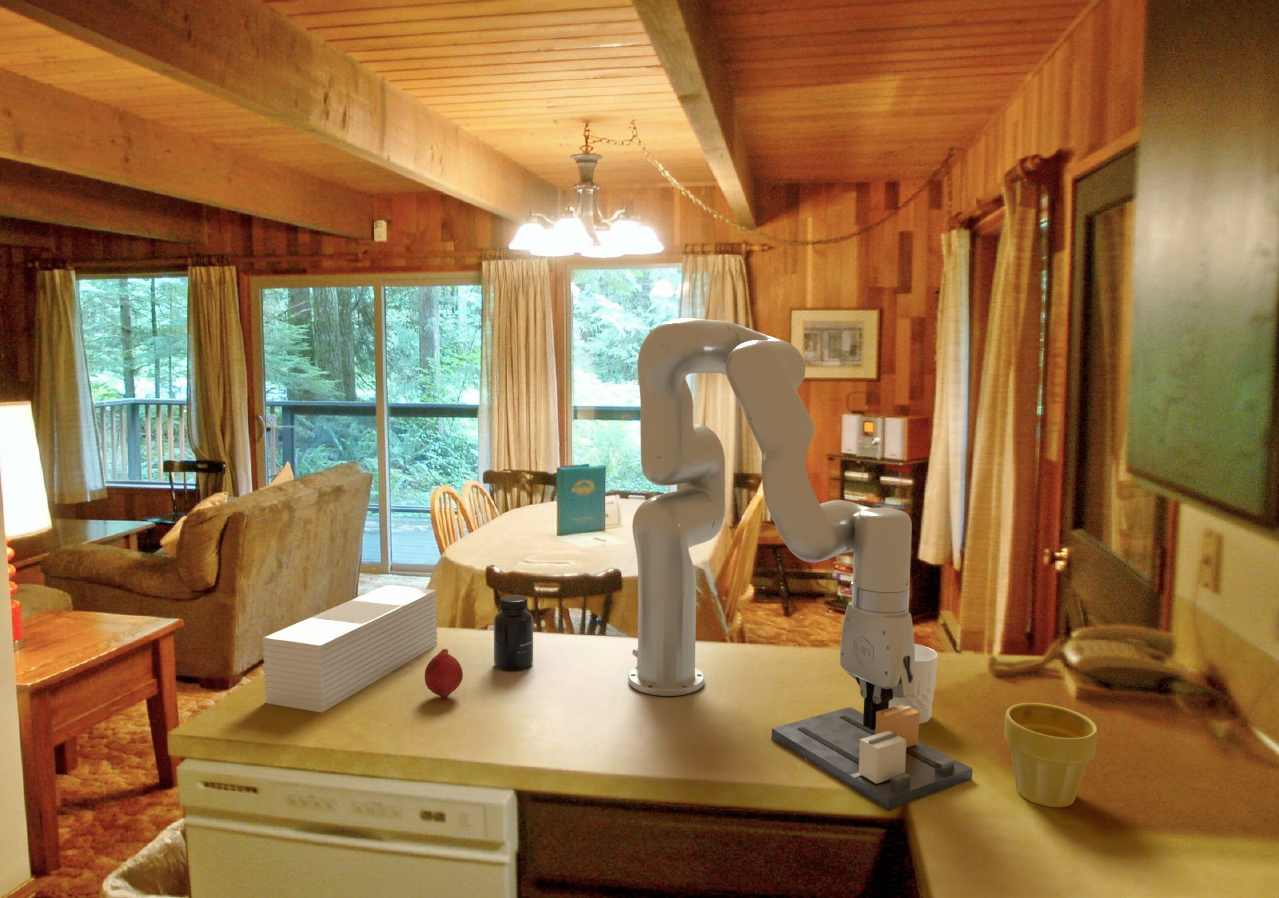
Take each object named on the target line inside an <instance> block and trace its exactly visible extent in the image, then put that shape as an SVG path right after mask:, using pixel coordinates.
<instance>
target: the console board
mask: <svg viewBox="0 0 1279 898" xmlns="http://www.w3.org/2000/svg"><path fill="white" fill-rule="evenodd" d="M863 716H864V712H861V711H860V710H857V709H855V708H854V707H851V706H847V707H844V708H841V709H836V710H834V711H830V712H826V713H823V714H819V715H815V716H811V717H808V718H805V719H801V720H798V721H794V722H790V723H786V724H783V725H779V726H775V727H772V728H771V739H772V740H773V741H774V742H777V743H779V745H781V746H783V747H785V746H786V747H787V748H786V747H785V748H786V749H788V748H789V749H788V750H790V751H791V750H792V751H791V752H792V753H794V752H795V754H796V755H798V754H799V755H800V756H799V755H798V756H799V757H801V756H802V757H801V758H803V759H804V758H806V759H807V760H808V761H807V760H806V759H805V760H806V761H807V762H809V761H810V762H809V763H811V762H812V763H813V764H812V763H811V764H812V765H814V764H815V765H814V766H815V767H817V766H818V767H817V768H819V767H820V768H821V769H820V768H819V769H820V770H822V769H823V770H822V771H824V772H825V773H827V774H829V775H830V776H832V777H834V778H835V779H837V780H838V781H840V782H842V783H844V784H845V785H847V786H849V787H850V788H852V789H853V790H855V791H856V792H858V793H859V794H862V795H863V796H864V797H865V798H867V799H869V800H871V801H872V802H874V803H875V804H877V805H879V806H880V807H883V808H884V809H886V810H887V811H890V810H894V809H896V808H899V807H901V806H904V805H907V804H909V803H912V802H915V801H917V800H920V799H923V798H927V797H929V796H931V795H934V794H937V793H940V792H942V791H945V790H948V789H951V788H952V787H955V786H958V785H961V784H964V783H966V782H969V781H971V780H973V767H970V766H969V765H967V764H965V763H963V762H961V761H959V760H956V759H954V758H953V757H952V756H951V757H950V756H948V755H947V754H944V753H942V752H940V751H938V750H937V749H935V748H934V747H931V746H929V745H927V744H924V743H922V742H920V740H918V744H916V745H913V746H910V747H907V748H906V761H905V772H904V773H901V774H898V775H895V776H892V777H890V779H889V780H886V781H883V782H880V783H877V784H876V783H874V782H872V781H871V780H869V779H867V778H866V777H864V776H862V775H861V774H859V749H860V739H863V738H866V737H869V736H872V735H875V733H876V730H871V729H869V727H865V726H864V725H863Z"/></svg>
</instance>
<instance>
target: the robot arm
mask: <svg viewBox="0 0 1279 898" xmlns="http://www.w3.org/2000/svg"><path fill="white" fill-rule="evenodd" d="M638 352H639V353H638V356H637V377H638V378H637V379H638V385H639V386H638V387H639V396H640V397H639V398H640V413H639V414H640V415H639V416H640V417H639V418H640V419H639V422H640V424H639V426H640V465H641V470H642V474H643V476H644V478H645V479H647V481H648V482H650V483H651V484H653V485H656V486H660V487H661V486H662V487H664V486H670V487H671V486H676V491H675V490H674V491H671V492H666V493H662V494H658V495H655V496H652V497H651V496H650V498H648V499H646V500H645V501H643V502H642V503H641V504H640V505H639V506H638V507H637V509H636V511H635V512H634V515H633V519H632V536H633V542H634V546H635V551H636V559H637V561H636V562H637V576H638V577H637V591H638V593H637V595H638V596H637V599H638V601H637V603H638V605H637V606H638V608H637V609H638V610H637V647H636V648H634V649H632V653H631V654H632V655H633V656H634V657H636V660H637V662H636V663H637V664H636V667H633V669H631V670H630V672H628V676H627V677H628V684H629V686H631V687H632V688H633V689H635V690H636V691H638V692H641V693H644V694H647V695H652V696H659V697H662V696H663V697H675V696H684V695H689V694H691V693H695V692H696V691H698V690H700V689H701V688H702V687H703V686H704V684H705V674H704V673H703V672H702V671H701V670H700V669H699V668H698V667H696V628H697V627H696V626H697V625H696V623H697V620H696V619H697V618H696V617H697V613H696V612H697V577H696V576H697V575H696V569H695V566H694V563H693V560H692V558H691V555H690V548H692V547H694V546H697V545H702V544H703V543H707V542H708V541H709V542H710V541H711V540H713V539H714V538H716V536H718V534H719V533H720V532H721V530H722V528H723V525H724V522H725V514H726V513H725V512H726V461H725V460H726V456H725V451H724V447H723V444H722V442H721V439H720V437H719V436H718V434H716V432H714V430H712V429H711V428H710V427H708V426H705V425H704V424H697V423H696V424H694V400H693V395H692V392H691V388H690V386H689V384H688V382H687V380H686V377H687V376H688V375H691V374H723V375H725V376H726V378H727V381H728V382H729V385H730V387H731V389H732V392H733V393H734V395H735V398H736V401H737V403H738V404H739V406H740V409H741V411H742V413H743V415H744V417H745V419H746V421H747V423H748V425H749V427H750V429H751V432H752V433H753V436H754V438H755V440H756V442H757V444H758V447H759V449H760V452H761V462H760V463H761V464H760V469H761V471H760V472H761V481H762V482H761V483H762V492H763V496H764V501H765V503H766V504H765V505H766V507H767V509H768V512H769V514H770V517H771V519H772V521H773V523H774V525H775V527H776V529H777V532H778V533H779V535H780V537H781V539H782V541H783V543H784V544H785V546H786V547H787V548H788V549H789V551H790V552H791V553H792V554H793V555H794V556H795V557H797V558H798V559H800V560H801V561H805V562H807V563H820V562H823V561H827V560H829V559H831V558H833V557H836V556H839V555H842V554H847V553H850V552H853V555H852V556H853V560H852V561H853V562H852V565H853V567H852V582H851V583H850V585H849V589H850V590H851V592H852V594H851V601H849V602H848V603H847V606H846V609H845V612H844V617H843V622H842V631H841V636H840V637H841V639H840V646H839V647H840V649H839V663H840V667H841V669H842V670H844V671H845V672H846V673H847V674H848V675H850V677H852V678H853V679H854V680H855V681H856V682H857V685H858V686H859V691H860V696H861V698H863V714H864V716H863V725H864V726H865V727H869V729H871V730H876V712H877V711H881V710H884V709H888V708H889V701H890V700H892V699H893V697H898V698H904V697H907V696H910V689H909V683H911V682H912V681H913V677H914V668H915V645H914V644H915V633H914V625H913V619H912V614H911V612H909V607H910V606H909V605H910V604H909V602H910V580H911V579H910V577H911V575H910V574H911V559H912V558H911V555H912V552H911V551H912V535H913V534H912V531H913V528H912V527H913V526H912V524H913V523H912V519H911V517H910V515H909V514H908V513H907V512H905V511H903V510H900V509H895V508H887V507H870V506H866V505H862V504H860V503H856V502H852V501H848V500H844V499H843V500H842V499H834V500H828V501H826V502H822V503H820V502H819V500H818V498H817V495H816V494H815V492H814V489H813V487H812V485H811V484H812V483H811V481H810V479H809V474H808V468H807V456H808V452H809V448H810V445H811V443H812V440H813V438H814V436H815V432H816V426H815V423H814V422H813V420H812V418H811V416H810V414H809V412H808V410H807V407H806V406H805V404H804V401H803V399H802V397H801V396H800V393H799V391H798V390H797V389H798V388H799V387H800V386H801V385H802V383H803V381H804V380H805V376H806V363H805V360H804V358H803V356H802V353H801V352H800V350H799V349H798V348H796V347H795V345H793V344H791V343H789V342H788V341H785V340H782V339H780V338H776V337H773V336H771V335H768V334H765V333H762V332H759V331H756V330H754V329H751V328H748V327H746V326H743V325H741V324H737V323H734V322H732V321H727V320H717V319H703V318H691V317H689V318H688V317H686V318H676V319H671V320H668V321H665V322H662V323H661V324H659V325H657V326H656V327H655V328H653V329H652V330H651V331H650V332H649V333H648V334H647V336H646V337H645V339H644V341H643V342H642V344H641V346H640V349H639V351H638Z"/></svg>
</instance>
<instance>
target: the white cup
mask: <svg viewBox="0 0 1279 898" xmlns="http://www.w3.org/2000/svg"><path fill="white" fill-rule="evenodd" d="M914 645H915V668H914V677H913V681H912V682H911V683H909V689H910V696H907V697H904V698H898V697H893V699H892V700H890V701H889V708H891V707H895V706H898V705H902V704H903V705H905V706H910V707H911V708H912V709H914V710H916V711H918V712H919V725H922V724H926V723H928V722H929V721H930V720H931V718H932V712H933V711H932V710H933V701H934V698H935V697H934V696H935V689H936V679H937V678H936V677H937V668H938V658H939V657H938V656H939V654H938V652H937V651H936V650H934V649H933V648H930V647H927V646H926V645H921V644H917V643H914Z"/></svg>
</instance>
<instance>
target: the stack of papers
mask: <svg viewBox="0 0 1279 898" xmlns="http://www.w3.org/2000/svg"><path fill="white" fill-rule="evenodd" d="M437 608H438V607H437V590H436V589H431V588H430V589H428V588H421V587H420V588H419V587H413V586H412V587H411V586H401V585H393V584H392V585H391V584H386V585H384V586H382V587H379V588H376V589H374V590H371V591H369V592H367V593H365V594H362V595H360V596H357V597H355V598H353V599H351V600H348V601H346V602H343V603H341V604H339V605H337V606H334V607H331V608H330V609H327V610H324V611H322V612H320V613H317V614H315V615H313V616H311V617H308V618H306V619H303V620H301V621H299V622H297V623H294V624H292V625H289V626H287V627H285V628H283V629H280V630H277V631H276V632H272V633H270V634H268V635H266V636H263V637H262V649H263V652H262V653H263V655H262V656H263V674H264V675H263V676H264V677H263V678H264V696H265V704H268V705H276V706H282V707H286V708H287V707H288V708H293V709H299V710H305V711H311V712H317V713H324V712H326V711H328V710H329V709H331V708H332V707H334V706H335V705H338V704H339V703H341V702H343V701H344V700H346V699H348V698H350V697H351V696H353V695H354V694H356V693H358V692H359V691H361V690H363V689H365V688H366V687H368V686H370V685H372V684H373V683H375V682H377V681H378V680H380V679H382V678H384V677H385V676H387V675H390V674H391V673H392V672H394V671H395V670H398V668H401V667H402V666H404V665H405V664H407V663H409V662H410V661H412V660H414V659H415V658H418V657H419V656H421V655H422V654H424V653H426V652H428V651H429V650H431V649H433V648H434V647H436V646H437V645H438V636H437V635H438V631H437V630H438V626H437V625H438V621H437V620H438V618H437V614H438V612H437Z"/></svg>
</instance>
